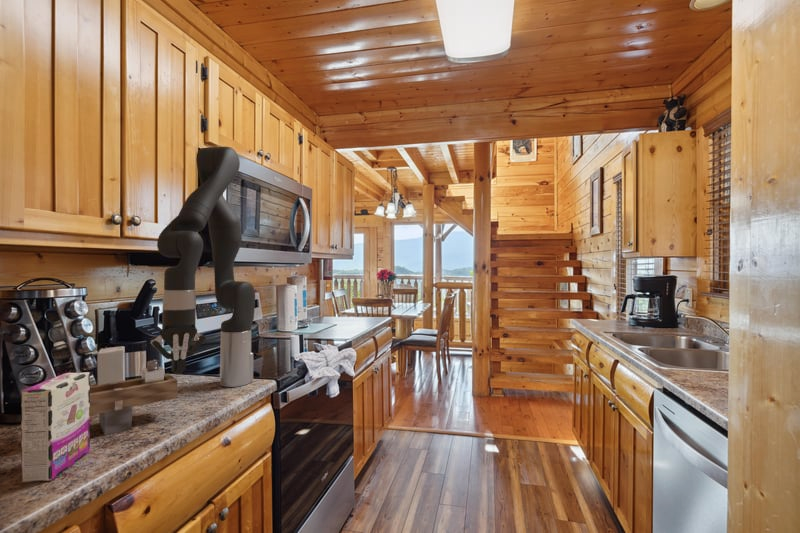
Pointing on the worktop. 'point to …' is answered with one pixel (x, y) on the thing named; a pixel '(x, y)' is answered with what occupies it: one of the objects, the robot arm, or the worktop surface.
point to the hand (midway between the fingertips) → (178, 373)
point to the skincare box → (111, 365)
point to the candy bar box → (54, 425)
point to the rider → (152, 373)
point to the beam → (127, 400)
